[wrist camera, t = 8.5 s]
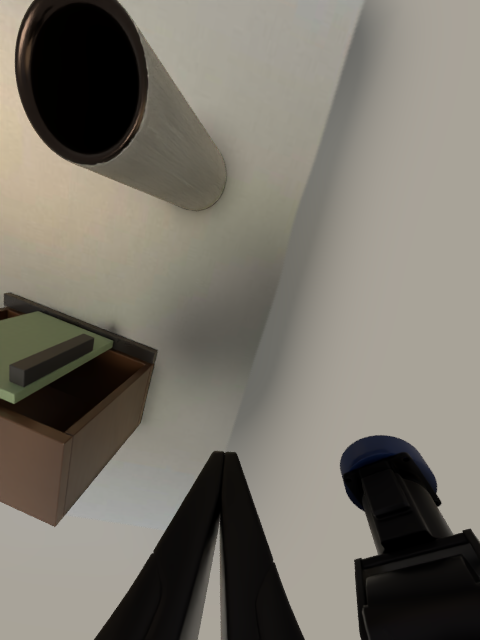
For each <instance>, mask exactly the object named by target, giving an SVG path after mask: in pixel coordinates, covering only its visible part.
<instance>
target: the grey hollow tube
mask: <svg viewBox="0 0 480 640" xmlns="http://www.w3.org/2000/svg"><path fill="white" fill-rule="evenodd" d="M15 74H16V82H17V87H18V92H19V96H20V99H21V102H22V105H23V108H24V110H25V113H26V115H27V117H28V119H29V121H30V123H31V125H32V126H33V128H34V130H35V131H36V133H37V134H38V135H39V137H40V138H41V139H42V140H43V142H44V143H45V144H46V145H47V146H48V147H49V148H50V149H51V150H52V151H53V152H55V153H56V154H57V155H59V156H60V157H62V158H63V159H65V160H67V161H69V162H71V163H74V164H76V165H78V166H81V167H83V168H86V169H88V170H90V171H93V172H95V173H98V174H100V175H103V176H105V177H108V178H110V179H113V180H115V181H118V182H120V183H123V184H125V185H127V186H130V187H132V188H135V189H137V190H140V191H142V192H145V193H147V194H150V195H152V196H155V197H157V198H159V199H162V200H164V201H167V202H169V203H172V204H174V205H177V206H179V207H182V208H184V209H188V210H193V211H199V210H204V209H206V208H208V207H210V206H212V205H213V204H214V203H215V202H216V201H217V200H218V199H219V198H220V196H221V194H222V192H223V190H224V187H225V183H226V167H225V163H224V160H223V158H222V155H221V153H220V152H219V150H218V148H217V147H216V145H215V144H214V142H213V141H212V139H211V138H210V136H209V135H208V133H207V132H206V130H205V128H204V127H203V125H202V124H201V122H200V121H199V119H198V118H197V116H196V115H195V113H194V112H193V110H192V109H191V107H190V106H189V104H188V103H187V101H186V100H185V98H184V97H183V95H182V94H181V92H180V91H179V89H178V87H177V86H176V84H175V83H174V81H173V80H172V78H171V77H170V75H169V74H168V72H167V71H166V69H165V68H164V66H163V65H162V63H161V62H160V60H159V59H158V57H157V56H156V54H155V53H154V51H153V49H152V48H151V46H150V45H149V43H148V42H147V40H146V39H145V37H144V36H143V34H142V33H141V31H140V30H139V28H138V27H137V25H136V24H135V22H134V21H133V19H132V18H131V16H130V15H129V14H128V12H127V11H126V10H125V8H124V7H123V6H122V5H121V3H120V2H119V1H118V0H34V1H33V2H32V3H31V5H30V6H29V8H28V10H27V11H26V13H25V15H24V18H23V20H22V22H21V25H20V28H19V32H18V36H17V41H16V49H15Z"/></svg>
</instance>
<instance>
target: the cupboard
mask: <svg viewBox="0 0 480 640" xmlns="http://www.w3.org/2000/svg"><path fill="white" fill-rule="evenodd" d="M4 305H5V306H7V307H4V308H0V320H4V319H8V318H12V317H16V316H20V315H24V314H28V313H32V312H36V311H39V312H42V313H44V314H47V315H49V316H52V317H54V318H57V319H59V320H62V321H64V322H67V323H69V324H72V325H75V326H77V327H80V328H82V329H85V330H87V331H90V332H92V333H95V334H97V335H100V336H102V337H105V338H108V339H110V340H113V347H112V348H111V349H109V350H107V351H105V352H104V353H102V354H100V355H98V356H97V357H95V358H93V359H91V360H90V361H88V362H86V363H84V364H83V365H81V366H79V367H77V368H76V369H74V370H72V371H71V372H69V373H67V374H65V375H64V376H62V377H60V378H58V379H57V380H55V381H53V382H51V383H50V384H48V385H46V386H44V387H43V388H41V389H39V390H38V391H36V392H34V393H32V394H31V395H29V396H27V397H25V398H24V399H22V400H20V401H18V402H17V403H15V404H13V403H10V402H8V401H6V400H3V399H1V398H0V502H2V503H4V504H6V505H9V506H11V507H13V508H15V509H17V510H20V511H22V512H24V513H26V514H28V515H30V516H33V517H35V518H37V519H39V520H41V521H43V522H46V523H48V524H50V525H52V526H54V527H55V526H56V525H57V524H58V523H59V521H60V520H61V519H62V518H63V517H64V516H65V514H66V513H67V512H68V511H69V510H70V508H71V507H72V506H73V505H74V504H75V502H76V501H77V500H78V499H79V497H80V496H81V495H82V494H83V493H84V491H85V490H86V489H87V488H88V486H89V485H90V484H91V483H92V482H93V480H94V479H95V478H96V477H97V476H98V474H99V473H100V472H101V471H102V469H103V468H104V467H105V466H106V465H107V463H108V462H109V461H110V460H111V459H112V457H113V456H114V455H115V454H116V452H117V451H118V450H119V449H120V448H121V446H122V445H123V444H124V443H125V441H126V440H127V439H128V438H129V437H130V435H131V434H132V433H133V432H134V431H135V429H136V428H137V427H138V426H139V424H140V422H141V418H142V414H143V409H144V405H145V401H146V397H147V392H148V388H149V384H150V380H151V375H152V371H153V367H154V364H153V363H154V362H155V359H156V354H157V350H154V349H152V348H149V347H147V346H144V345H141V344H139V343H136V342H134V341H131V340H129V339H126V338H124V337H121V336H118V335H116V334H113V333H111V332H108V331H106V330H103V329H101V328H98V327H96V326H93V325H90V324H88V323H85V322H83V321H80V320H78V319H75V318H73V317H70V316H67V315H65V314H62V313H60V312H57V311H55V310H52V309H50V308H47V307H45V306H42V305H39V304H37V303H34V302H32V301H29V300H27V299H24V298H22V297H19V296H16V295H14V294H11V293H4Z"/></svg>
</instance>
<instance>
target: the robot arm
mask: <svg viewBox="0 0 480 640" xmlns="http://www.w3.org/2000/svg"><path fill="white" fill-rule="evenodd" d="M403 458H404V459H403ZM347 478H349V479H347ZM343 481H344V483H345V484H346V485H347V487H348V488H349V489H350V491H351V492H352V493H353V495H354V496H355V497H356V499H357V500H358V501H359V503H360V504H361V505H362V507H363V508H364V510H365V513H366V516H367V520H368V523H369V526H370V530H371V533H372V536H373V539H374V543H375V546H376V549H377V552H378V555H376V556H373V557H369V558H366V559H362V558H359V559H356V560H354V562H355V580H356V594H357V605H358V606H357V607H358V620H359V632H360V637H361V640H480V541H479V540H478V539H477V537H476V536H475V535H474V533H473V532H472V530H471V529H467V530H463V533H459V534H455V535H453V533H452V531H451V530H450V528H449V526H448V525H447V523H446V521H445V519H444V518H443V516H442V515H441V513H440V511H439V509H438V508H437V507H439V506H440V505H441V504H442V503H441V500H440V499H439V497H438V496H437V494H436V493H435V491H434V490H433V488H432V487H431V486H430V484H429V483H428V481H427V480H426V478H425V477H424V475H423V474H422V472H421V471H420V469H419V468H418V466H417V465H416V464H415V462H414V461H413V459H412V458H411V456H410V455H409V454H408V453H407V452H401V453H398V454H395V455H392V456H390V457H387V458H384V459H382V460H379V461H376V462H374V463H371V464H368V465H366V466H363V467H360V468H357V469H355V470H352V471H349V472H347V473H344V474H343ZM219 521H220V603H221V604H220V605H221V640H305V639H304V637H303V635H302V632H301V630H300V628H299V625H298V623H297V621H296V618H295V616H294V613H293V611H292V609H291V606H290V604H289V601H288V599H287V596H286V593H285V591H284V588H283V585H282V583H281V580H280V577H279V574H278V572H277V568H276V565H275V563H274V562H273V557H272V554H271V551H270V549H269V546H268V543H267V540H266V537H265V534H264V531H263V528H262V525H261V522H260V519H259V517H258V514H257V511H256V508H255V505H254V503H253V499H252V496H251V493H250V491H249V488H248V485H247V482H246V479H245V476H244V473H243V470H242V467H241V464H240V461H239V459H238V456H237V454H236V453H235V452H226V453H224V452H223V451H214V452H213V453H212V454H211V456H210V458H209V459H208V461H207V463H206V464H205V466H204V468H203V469H202V471H201V473H200V474H199V476H198V478H197V479H196V481H195V483H194V484H193V486H192V488H191V489H190V491H189V493H188V494H187V496H186V497H185V499H184V501H183V502H182V504H181V506H180V507H179V509H178V511H177V512H176V514H175V516H174V517H173V519H172V521H171V522H170V524H169V526H168V527H167V529H166V531H165V533H164V534H163V536H162V537H161V539H160V541H159V542H158V544H157V546H156V547H155V549H154V554H153V553H152V554H151V555H150V557H149V559H148V560H147V562H146V564H145V565H144V567H143V569H142V570H141V572H140V574H139V575H138V577H137V578H136V580H135V581H134V583H133V585H132V586H131V588H130V589H129V591H128V592H127V594H126V595H125V597H124V598H123V599H122V601H121V602H120V604H119V605H118V607H117V608H116V610H115V611H114V612H113V614H112V615H111V617H110V618H109V620H108V621H107V622H106V624H105V625H104V626H103V628H102V629H101V631H100V632H99V633H98V635H97V636H96V638H95V639H94V640H197V639H198V634H199V629H200V624H201V618H202V613H203V608H204V603H205V597H206V592H207V587H208V581H209V576H210V570H211V566H212V560H213V555H214V550H215V544H216V539H217V534H218V528H219Z"/></svg>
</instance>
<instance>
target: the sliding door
mask: <svg viewBox="0 0 480 640" xmlns="http://www.w3.org/2000/svg"><path fill="white" fill-rule="evenodd" d="M112 347H113V340H110V339H108V338H105V337H102V336H100V335H97V334H95V333H92V332H90V331H87V330H85V329H82V328H80V327H77V326H75V325H72V324H69V323H67V322H64V321H62V320H59V319H57V318H54V317H52V316H49V315H47V314H44V313H42V312H39V311H36V312H32V313H28V314H24V315H20V316H16V317H12V318H8V319H4V320H0V398H1V399H3V400H6V401H8V402H10V403H13V404H15V403H17V402H18V401H20V400H22V399H24V398H25V397H27V396H29V395H31V394H32V393H34V392H36V391H38V390H39V389H41V388H43V387H44V386H46V385H48V384H50V383H51V382H53V381H55V380H57V379H58V378H60V377H62V376H64V375H65V374H67V373H69V372H71V371H72V370H74V369H76V368H77V367H79V366H81V365H83V364H84V363H86V362H88V361H90V360H91V359H93V358H95V357H97V356H98V355H100V354H102V353H104V352H105V351H107V350H109V349H111V348H112Z"/></svg>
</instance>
